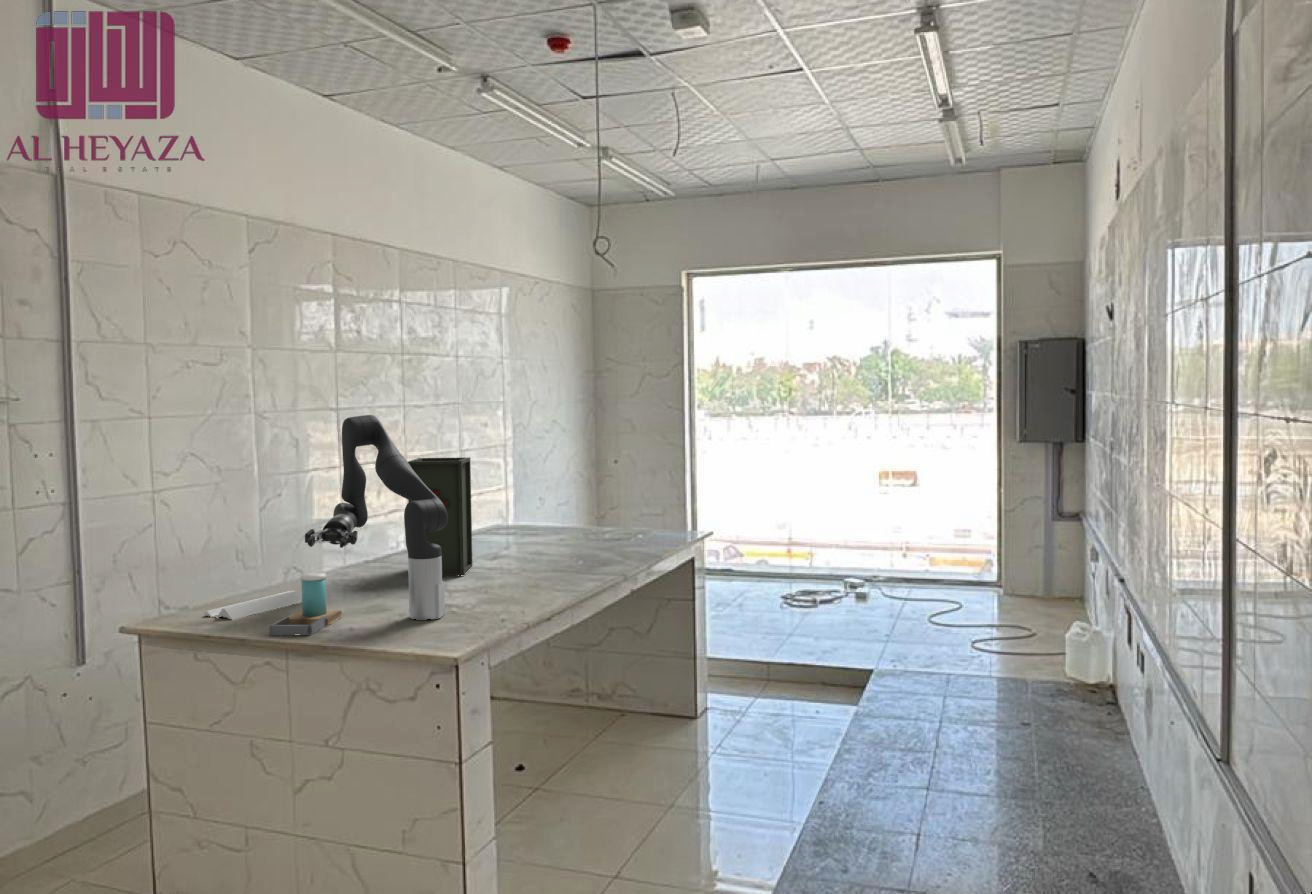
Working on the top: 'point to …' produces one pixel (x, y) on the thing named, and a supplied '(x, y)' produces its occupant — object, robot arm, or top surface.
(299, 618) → the light tan wooden board
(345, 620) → the top surface
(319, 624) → the tray
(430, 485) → the first aid box
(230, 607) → the crown molding
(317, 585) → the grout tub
